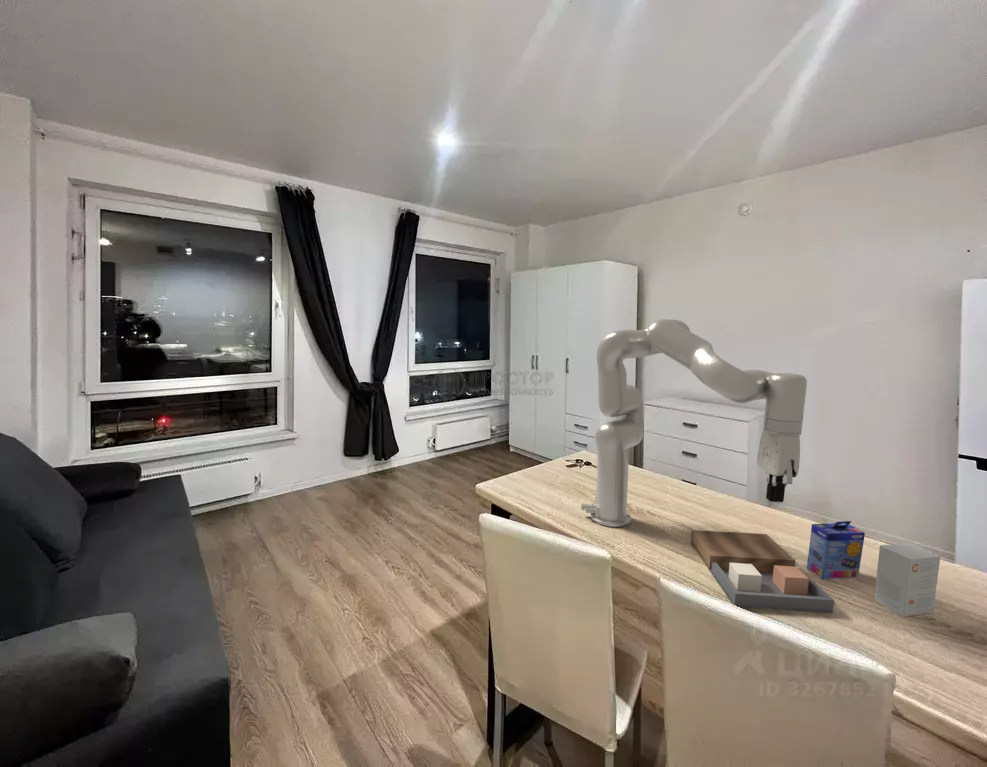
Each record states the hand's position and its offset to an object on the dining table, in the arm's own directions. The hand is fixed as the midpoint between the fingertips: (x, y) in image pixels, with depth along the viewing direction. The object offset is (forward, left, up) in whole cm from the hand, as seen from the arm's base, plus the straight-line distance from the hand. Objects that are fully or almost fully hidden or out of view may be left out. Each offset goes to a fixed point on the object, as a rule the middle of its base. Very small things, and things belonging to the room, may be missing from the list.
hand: (774, 500), depth 105 cm
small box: (+24, -9, -20) cm, 32 cm away
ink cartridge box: (+17, +3, -20) cm, 26 cm away
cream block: (-8, -6, -15) cm, 18 cm away
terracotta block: (+2, -6, -15) cm, 16 cm away
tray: (-3, -7, -19) cm, 21 cm away
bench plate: (-3, +8, -19) cm, 21 cm away
